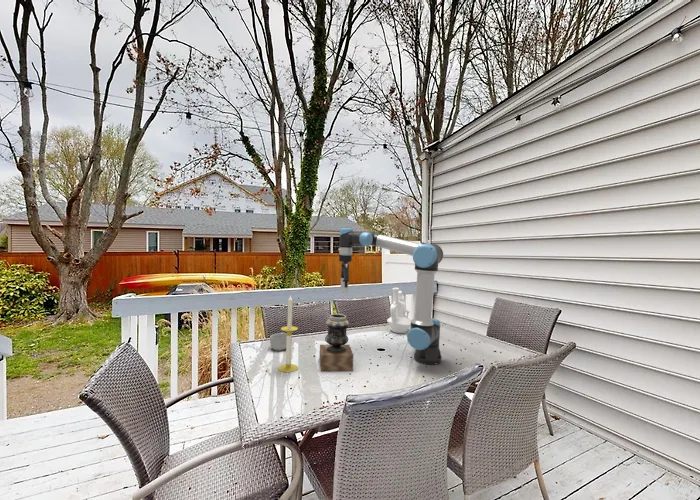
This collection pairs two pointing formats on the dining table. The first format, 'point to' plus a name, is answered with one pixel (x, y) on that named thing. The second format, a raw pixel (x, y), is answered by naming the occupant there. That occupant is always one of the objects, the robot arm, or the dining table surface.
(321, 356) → the walnut stand
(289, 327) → the rod with yellow discs
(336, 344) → the apothecary jar
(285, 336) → the teacup
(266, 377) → the dining table surface
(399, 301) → the white tall piece
